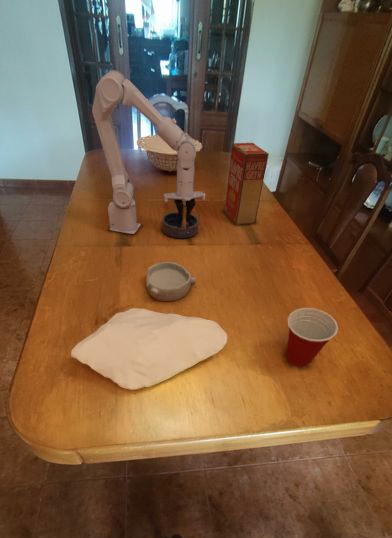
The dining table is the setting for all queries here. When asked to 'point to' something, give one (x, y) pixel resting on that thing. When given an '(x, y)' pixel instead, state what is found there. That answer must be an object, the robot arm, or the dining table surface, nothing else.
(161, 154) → the woven basket
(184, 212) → the stick
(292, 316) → the plastic cup
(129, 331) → the crumpled cloth
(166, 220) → the bowl
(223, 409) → the dining table surface
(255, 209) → the food packaging
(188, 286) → the dish
